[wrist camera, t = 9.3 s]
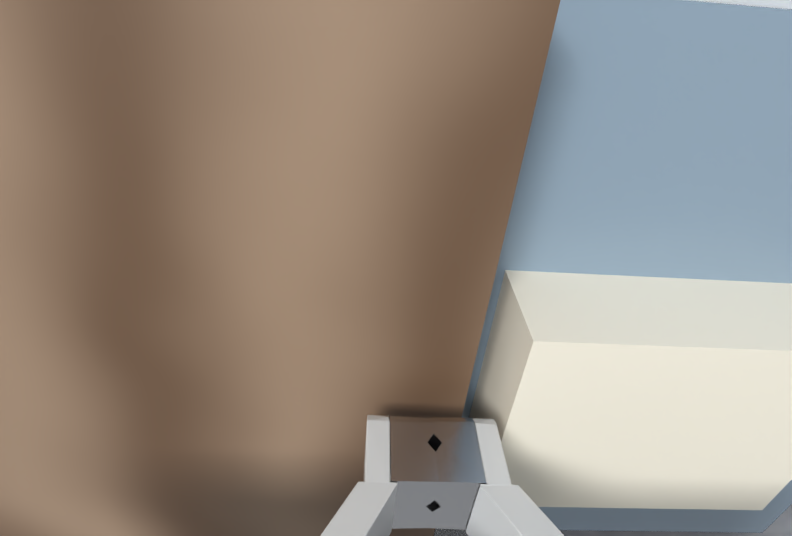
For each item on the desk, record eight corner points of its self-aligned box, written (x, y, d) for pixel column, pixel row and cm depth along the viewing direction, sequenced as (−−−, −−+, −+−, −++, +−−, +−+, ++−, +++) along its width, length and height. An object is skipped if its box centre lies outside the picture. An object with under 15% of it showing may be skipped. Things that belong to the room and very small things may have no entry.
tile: (815, 284, 12) (911, 355, 9) (709, 433, 15) (761, 510, 13) (505, 270, 11) (533, 341, 9) (466, 427, 14) (480, 505, 12)
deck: (525, -15, 8) (562, -8, 6) (420, 517, 18) (424, 573, 16) (-335, -90, 7) (-545, -105, 6) (52, 512, 17) (17, 571, 16)
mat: (1221, 47, 9) (1254, 50, 9) (755, 522, 19) (762, 532, 19) (525, -15, 8) (531, -14, 8) (420, 517, 18) (421, 527, 18)
